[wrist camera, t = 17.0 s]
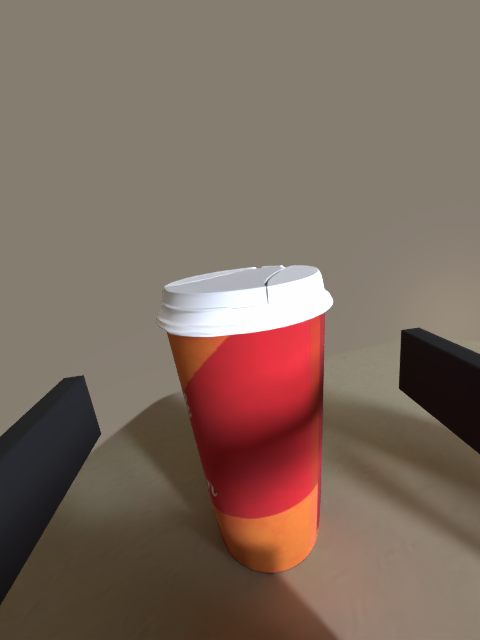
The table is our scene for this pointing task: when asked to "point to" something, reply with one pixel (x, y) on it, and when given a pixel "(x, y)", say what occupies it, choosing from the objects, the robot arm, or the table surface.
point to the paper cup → (255, 402)
